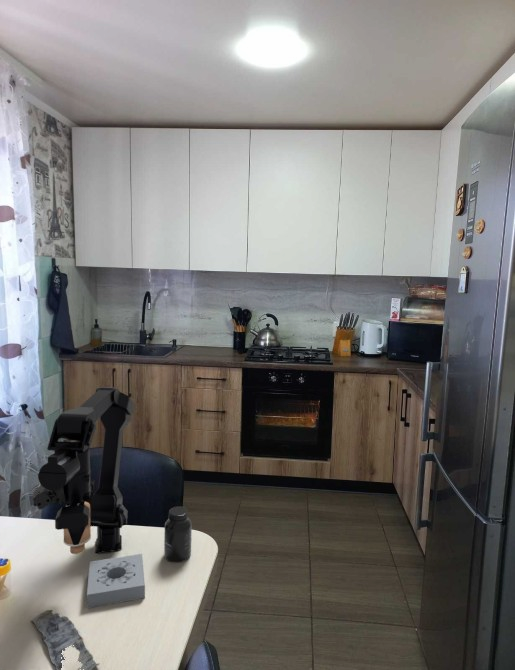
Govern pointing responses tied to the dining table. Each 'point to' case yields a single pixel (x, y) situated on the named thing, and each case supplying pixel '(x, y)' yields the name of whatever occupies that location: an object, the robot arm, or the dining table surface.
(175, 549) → the supplement bottle
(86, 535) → the peg
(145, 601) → the dining table surface
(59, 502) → the robot arm
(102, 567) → the board
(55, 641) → the driftwood
